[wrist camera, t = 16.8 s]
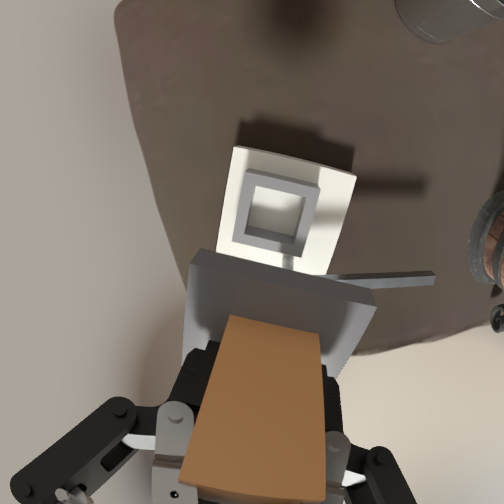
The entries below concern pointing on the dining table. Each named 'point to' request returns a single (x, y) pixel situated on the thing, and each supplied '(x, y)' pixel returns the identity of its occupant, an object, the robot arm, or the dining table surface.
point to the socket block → (283, 210)
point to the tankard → (489, 251)
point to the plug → (265, 376)
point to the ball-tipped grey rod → (386, 279)
